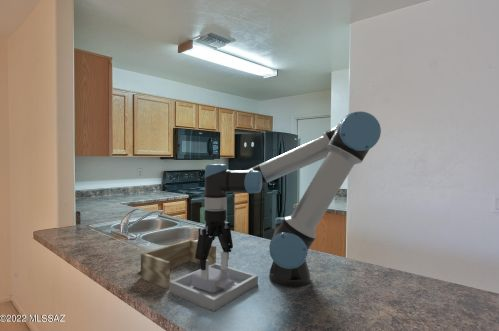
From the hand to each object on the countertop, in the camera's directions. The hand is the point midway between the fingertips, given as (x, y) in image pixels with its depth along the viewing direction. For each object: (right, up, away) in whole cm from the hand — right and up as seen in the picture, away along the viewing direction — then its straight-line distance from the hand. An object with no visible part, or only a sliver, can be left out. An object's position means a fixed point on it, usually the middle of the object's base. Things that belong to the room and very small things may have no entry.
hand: (214, 274), depth 99 cm
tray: (0, -5, 0) cm, 5 cm away
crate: (-15, -5, +14) cm, 21 cm away
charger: (+1, -5, -1) cm, 5 cm away
